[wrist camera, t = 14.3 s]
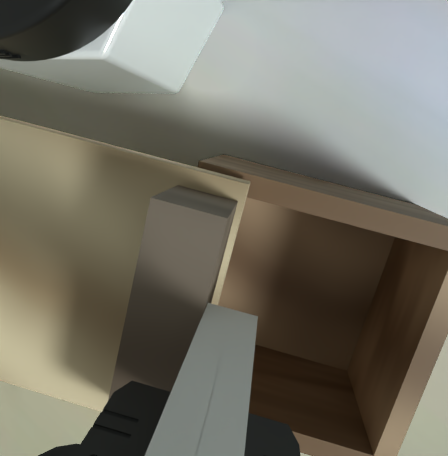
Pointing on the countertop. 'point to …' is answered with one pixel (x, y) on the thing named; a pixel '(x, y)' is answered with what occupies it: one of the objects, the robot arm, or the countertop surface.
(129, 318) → the lid
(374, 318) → the open wooden box
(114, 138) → the countertop surface
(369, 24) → the countertop surface
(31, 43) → the jar
